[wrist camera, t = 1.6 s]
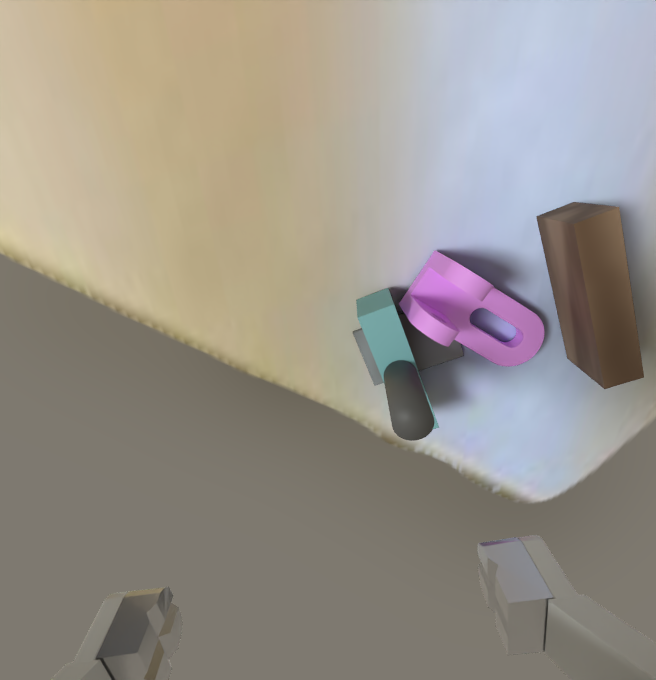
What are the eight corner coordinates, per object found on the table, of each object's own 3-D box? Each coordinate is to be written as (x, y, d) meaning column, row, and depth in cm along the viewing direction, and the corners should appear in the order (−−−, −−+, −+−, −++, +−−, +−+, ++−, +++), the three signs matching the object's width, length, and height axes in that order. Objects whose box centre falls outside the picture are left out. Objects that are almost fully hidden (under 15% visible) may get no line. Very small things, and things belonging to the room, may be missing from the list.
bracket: (398, 303, 36) (414, 329, 30) (434, 250, 35) (460, 264, 28) (510, 370, 39) (547, 406, 32) (549, 322, 37) (596, 351, 31)
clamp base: (573, 202, 33) (619, 206, 28) (600, 347, 38) (644, 377, 32) (337, 293, 37) (335, 313, 31) (387, 415, 42) (393, 452, 36)
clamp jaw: (388, 287, 36) (406, 337, 25) (428, 398, 40) (459, 484, 29) (356, 299, 36) (360, 353, 25) (399, 407, 40) (418, 495, 29)
